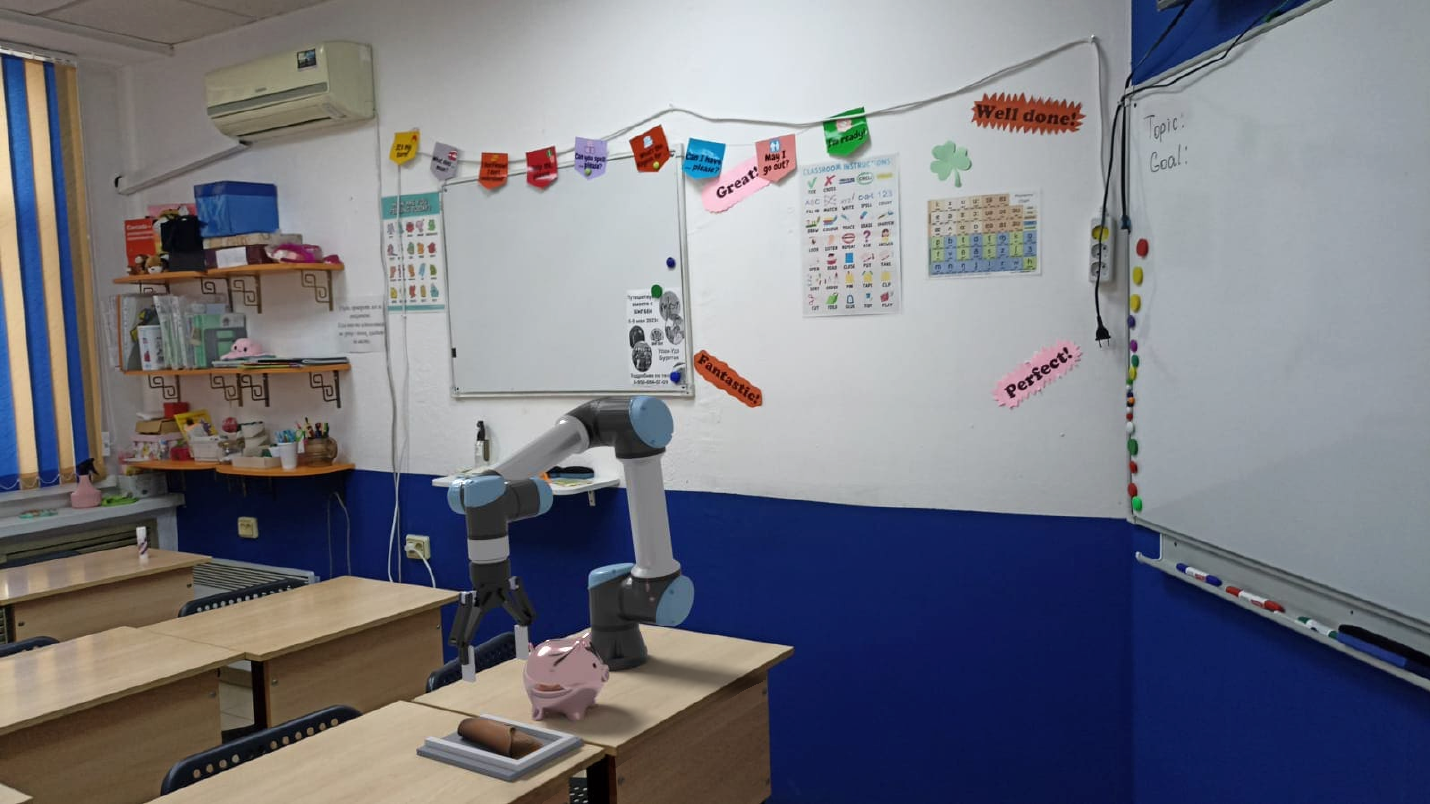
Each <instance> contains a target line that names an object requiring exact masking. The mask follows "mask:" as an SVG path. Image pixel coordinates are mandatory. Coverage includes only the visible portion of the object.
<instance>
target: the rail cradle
mask: <svg viewBox="0 0 1430 804" xmlns="http://www.w3.org/2000/svg"><path fill="white" fill-rule="evenodd" d="M478 718H485V719H491V720H495V721H499V722H504V723H508V724H510V725H512V726H515V727H516V728H515V729H517V730H519V731H521V732H523V733H525V734H527V735H529V736H531V737H533V738H534V739H536V740H537V741H539V742H540V743H541V744H542V745H543V746H544V747H543V748H541V749H539V750H537V751H535V752H533V753H531V754H529V755H527V756H525V757H523V758H521V759H518V760H515V759H511V758H510V757H508V756H506V755H504V754H502V753H500V752H498V751H496V750H493V749H491V748H490V747H488V746H485V745H482V744H480V743H478V742H477V741H473V740H471V739H467V738H464V737H460V736H459V735H458V733H457V730H456V731H454V732H451V733H450V734H446V735H445V736H443V737H440V738H437V737H435V736H428V737H426V738H424V745H422V746H420V747H418V748H416V755H418V756H422V757H425V758H428V759H432V760H435V761H439V762H442V763H446V764H449V765H453V766H456V767H459V768H462V769H466V770H470V771H473V772H476V773H479V774H483V775H487V776H490V777H493V778H497V779H499V780H503V781H507V782H513V780H516V779H518V778H519V777H522V776H523V775H525V774H527V773H529V772H531V771H533V770H535V769H537V768H539V767H541V766H543V765H545V764H546V763H549V762H551V761H552V760H554V759H556V758H559V757H560V756H562V755H564V754H566V753H568V752H569V751H571V750H573V749H576V748H577V747H579V746H581V745H583V744H584V738H582V737H579V736H576V735H574V734H570V733H567V732H566V733H565V732H563V731H558V730H554V729H549V728H545V727H541V726H537V725H534V724H529V723H524V722H521V721H518V720H517V721H516V720H513V719H508V718H505V717H499V716H496V715H492V714H489V713H482V714H480V715H478Z"/></svg>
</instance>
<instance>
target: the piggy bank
mask: <svg viewBox="0 0 1430 804" xmlns="http://www.w3.org/2000/svg"><path fill="white" fill-rule="evenodd" d="M528 648H529V660H526V662H525V665H524V667H523V668H524V669H523V674H522V675H523V677H522V681H523V686H524V687H523V688H524V689H525V693H526V695H527V696H528V699H529V700H530V703H531V705H532V707H531V708H532V709H531V719H532V720H534V721H541V720H544V719H546V718H547V716H548V713H549V712H550V713H559V714H560V713H561V714H564V715H566V716H567V718H568V719H569V721H571V722H580V721H583V720H584V718H585V714H586V710H587V708H592V707H594V706H596V705H597V697H598V696H599V694H600V693H601V692H602V690H603V688H604V686H605V683H608V682H609V679H610V670H609V668H608V666H607V665H606V664H604V663H603V659H602V658H601V657H600V655H599V653H598V652H597V650H596V649H595V647H594V646H593V644H592V642H591V631H588V632H586V633H585V634H583V635H581V636H577V637H573V638H554V639H548V640H546V641H544V642H541V643H539V644H538V645H537V646H536V647H534V646H533V643H532V642H528Z"/></svg>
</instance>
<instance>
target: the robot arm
mask: <svg viewBox="0 0 1430 804" xmlns="http://www.w3.org/2000/svg"><path fill="white" fill-rule="evenodd" d="M674 427H675V426H674V420H673V416H672V412H671V410H670V408H669V407H668V405H667V404H666V403H665V402H663V400H662V399H661V398H659V397H656V396H652V395H651V396H650V395H643V394H640V395H620V396H619V395H618V396H610V395H609V396H601V397H597V398H595V399H591V400H589V401H587V402H584V403H582V404H580V405H579V406H577V407H575V408H573V409H572V410H571V409H570V410H569V411H568V412H566V413H565V414H563V415H562V416H560V417H559V418H557V420H556V422H555V423H554V425H553V426H552V427H551V428H550V429H548V430H546V431H545V432H543V433H542V434H541V433H540V435H539V436H537V437H535V438H534V439H532V440H531V441H530V440H529V442H527V443H525V444H524V445H522V447H519V448H518V449H516V450H515V451H514V452H511V453H510V454H508V455H506V456H505V457H504V458H502V459H501V460H499V461H498V462H496V463H495V464H493V465H491V466H489V467H488V468H487V469H485V470H483V471H481V472H480V473H478V474H477V475H475V476H473V477H470V476H466V477H460V478H459V477H458V478H457V479H455V480H453V481H452V483H451V484H450V485H449V488H448V491H447V501H448V505H449V507H450V508H451V510H452V511H453V512H455V513H456V514H460V515H465V522H466V523H465V524H466V534H467V537H466V538H467V550H468V551H467V553H468V559H469V560H471V561H470V562H469V563H468V568H469V579H470V581H471V583H472V590H470V591H460V592H459V593H458V605H457V609H456V613H455V616H454V619H453V623H452V625H451V630H450V634H449V637H448V640H447V645H448V646H450V647H456V648H457V654H458V655H457V656H458V663H459V665H460V666H461V674H462V675H461V676H462V681H465V682H470V683H475V682H477V678H476V664H475V651H474V650H475V649H474V646H472V645H471V643H472V641H473V639H474V636H475V635H476V632H477V631H478V629H479V626H480V625H481V622H482V620H483V618H484V616H485V615H487V613H488V612H489V611H492V610H494V609H495V608H500V607H502V608H504V610H505V611H506V612H507V613H508V614H509V615H510V616H511V617H512V618H513V620H514V621H515V622H516V623H517V624H516V625H514V637H515V638H514V641H515V653H516V655H515V656H516V659H518V660H521V661H522V660H523V661H527V660H529V656H530V649H529V645H528V643H529V641H530V640H531V639H530V638H531V637H530V627H531V626H533V625H534V621H535V620H536V619H537V618H538V617H537V613H536V610H535V609H534V607H533V604H532V603H531V601H530V598H529V596H528V594H527V592H526V590H525V588H524V584H523V578H522V577H521V576H514V575H512V574H511V573H512V572H511V559H510V558H509V557H508V556H510V544H509V523H513V522H515V521H520V520H524V519H529V518H536V517H537V516H538V517H539V515H543V514H545V513H547V512H548V511H550V509H551V507H552V505H553V501H554V493H553V489H552V486H551V485H550V484H549V482H548V481H547V480H546V479H544V478H541V476H542V475H544V474H546V473H547V472H549V471H550V470H551V469H553V468H554V467H556V466H558V465H559V464H560V463H562V462H563V461H565V460H566V459H567V458H569V457H571V456H572V455H580V454H583V453H584V452H586V451H588V450H590V449H593V448H599V447H610V448H611V447H613V448H614V455H615V459H616V460H617V461H619V462H620V463H621V464H622V465H623V472H624V479H625V480H624V481H625V488H626V495H627V503H628V511H629V518H630V524H631V525H630V527H631V532H632V541H633V549H634V555H635V563H633V562H625V563H616V564H610V565H606V566H605V565H604V566H602V567H598V568H595V569H593V570H592V571H590V573H589V575H588V587H587V590H588V604H589V605H588V606H589V618H590V632H591V642H592V644H593V646H594V647H595V649H596V650H597V652H598V653H599V655H600V657H601V658H602V659H603V663H604V664H606V665H607V666H608V668H609V671H616V670H617V671H619V670H625V669H631V668H634V667H639V666H641V665H643V664H645V663H646V662H647V661H648V659H649V655H648V654H649V653H648V648H647V645H646V644H645V641H644V638H643V634H642V632H641V628H640V623H641V624H649V625H654V626H655V625H657V626H658V627H664V626H667V627H676V626H678V625H680V624H681V623H683V622H684V621H685V620H686V618H688V615H689V614H690V611H691V609H692V607H693V604H694V598H695V587H694V584H693V581H692V580H691V579H690V578H689V576H685V575H682V569H681V564H680V562H679V561H678V560H676V559H674V556H673V548H672V540H671V533H670V524H669V516H668V509H667V508H668V507H667V501H666V500H667V499H666V494H665V493H666V492H665V483H664V477H663V470H662V469H663V468H662V464H661V463H662V462H661V459H662V457H663V456H664V455H665V453H667V449H666V446H668V445H669V443H671V441H672V439H673V433H674V429H675V428H674ZM509 591H510V592H511V595H512V596H511V595H510V592H509Z"/></svg>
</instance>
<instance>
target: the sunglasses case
mask: <svg viewBox="0 0 1430 804" xmlns="http://www.w3.org/2000/svg"><path fill="white" fill-rule="evenodd" d="M515 728H516V727H515V726H512V725H510V724H508V723H504V722H499V721H495V720H491V719H485V718H479V717H467V718H464V719H462V720H461V721H460V723H459V724H458V726H457V730H456V731H457V733H458V735H459V736H460V737H464V738H467V739H471V740H473V741H477V742H478V743H480V744H482V745H485V746H488V747H490V748H491V749H493V750H496V751H498V752H500V753H502V754H504V755H506V756H508V757H510V758H511V759H515V760H518V759H521V758H523V757H525V756H527V755H529V754H531V753H533V752H535V751H537V750H539V749H541V748H543V747H544V746H543V745H542V744H541V743H540V742H539V741H537V740H536V739H534V738H533V737H531V736H529V735H527V734H525V733H523V732H521V731H519V730H517V729H515Z"/></svg>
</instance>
